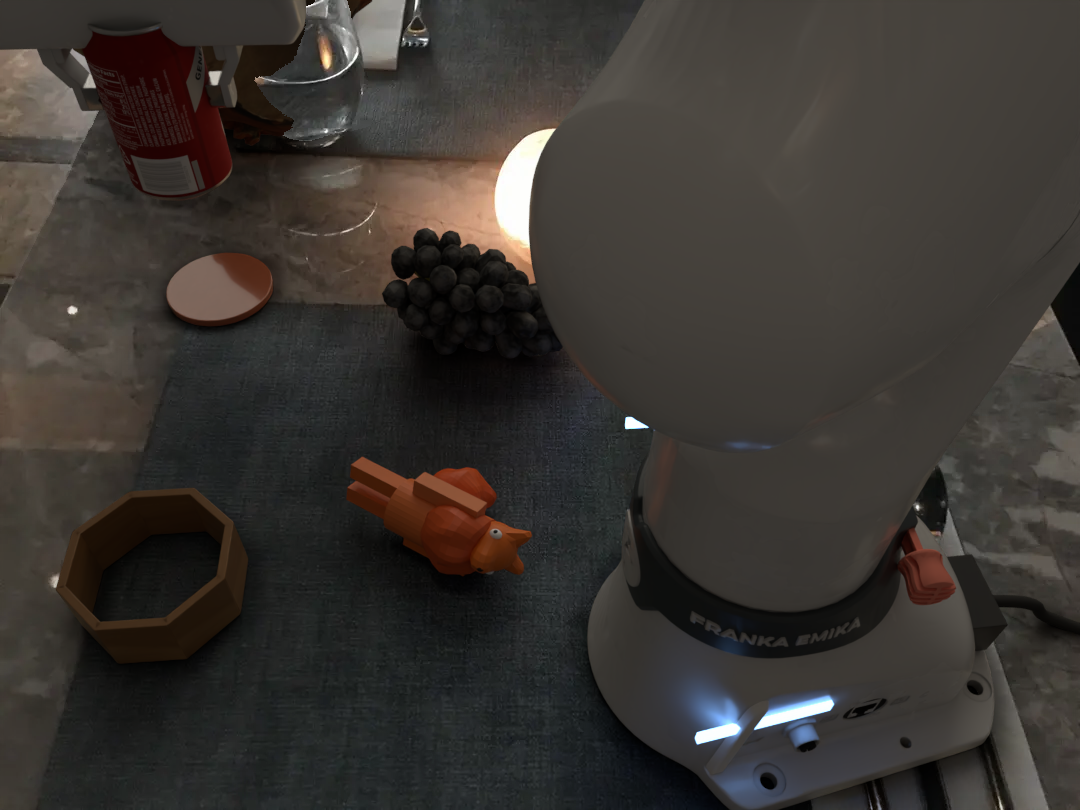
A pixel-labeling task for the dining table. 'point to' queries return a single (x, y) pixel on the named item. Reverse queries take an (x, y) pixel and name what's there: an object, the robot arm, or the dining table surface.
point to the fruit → (468, 298)
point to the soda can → (159, 111)
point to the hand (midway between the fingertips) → (162, 104)
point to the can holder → (124, 531)
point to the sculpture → (251, 104)
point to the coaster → (219, 289)
